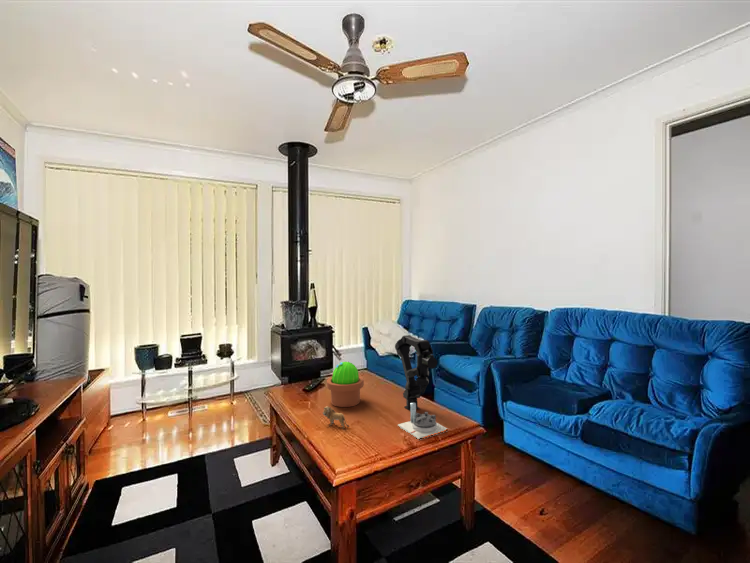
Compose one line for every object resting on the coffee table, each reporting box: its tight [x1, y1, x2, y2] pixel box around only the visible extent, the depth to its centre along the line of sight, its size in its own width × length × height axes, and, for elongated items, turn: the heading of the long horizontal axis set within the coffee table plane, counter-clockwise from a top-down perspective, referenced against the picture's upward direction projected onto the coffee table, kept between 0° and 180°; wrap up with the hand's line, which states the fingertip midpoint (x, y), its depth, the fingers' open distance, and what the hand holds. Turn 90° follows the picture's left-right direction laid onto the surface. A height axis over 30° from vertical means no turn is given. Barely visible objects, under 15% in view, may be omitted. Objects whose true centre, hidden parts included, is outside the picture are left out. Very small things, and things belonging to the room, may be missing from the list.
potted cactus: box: [326, 361, 365, 408], centre depth 212 cm, size 22×22×25 cm
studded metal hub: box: [409, 402, 437, 428], centre depth 173 cm, size 15×11×12 cm
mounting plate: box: [397, 420, 448, 440], centre depth 175 cm, size 17×18×3 cm
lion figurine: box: [322, 406, 350, 430], centre depth 180 cm, size 15×5×9 cm, turn 69°
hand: (422, 393), depth 189 cm, fingers closed
